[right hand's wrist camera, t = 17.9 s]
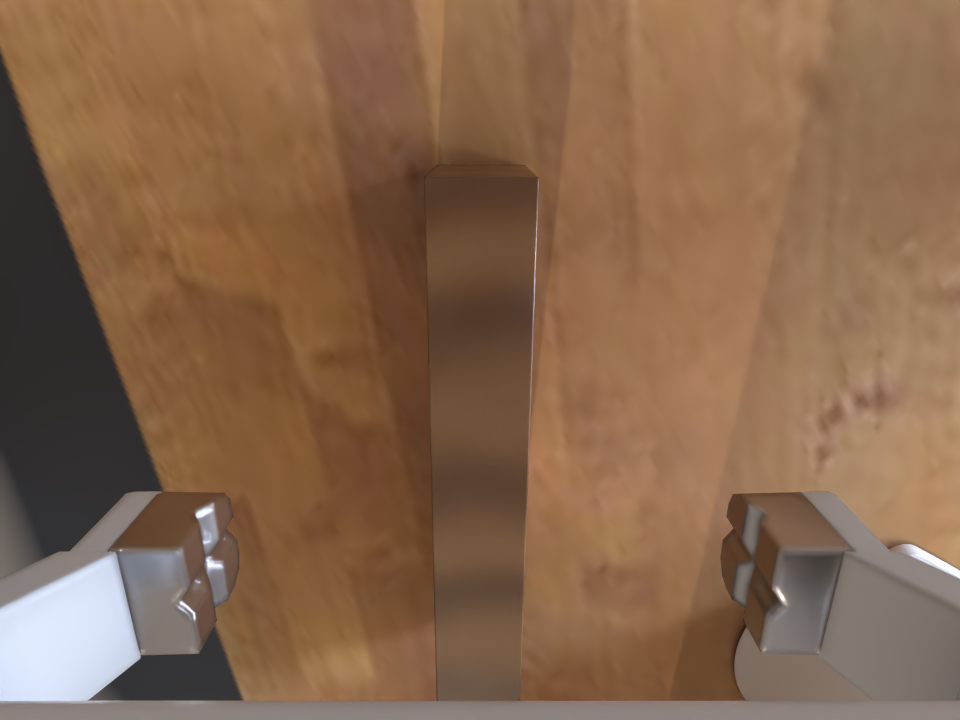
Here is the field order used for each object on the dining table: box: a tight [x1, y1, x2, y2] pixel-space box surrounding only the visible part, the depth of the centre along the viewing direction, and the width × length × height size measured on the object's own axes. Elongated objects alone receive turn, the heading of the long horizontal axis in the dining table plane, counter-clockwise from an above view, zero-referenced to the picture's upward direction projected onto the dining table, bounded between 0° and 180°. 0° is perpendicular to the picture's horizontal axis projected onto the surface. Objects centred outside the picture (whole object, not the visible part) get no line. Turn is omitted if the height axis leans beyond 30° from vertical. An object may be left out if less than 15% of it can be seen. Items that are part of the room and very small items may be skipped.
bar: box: [424, 165, 539, 701], centre depth 34 cm, size 28×5×8 cm, turn 0°
